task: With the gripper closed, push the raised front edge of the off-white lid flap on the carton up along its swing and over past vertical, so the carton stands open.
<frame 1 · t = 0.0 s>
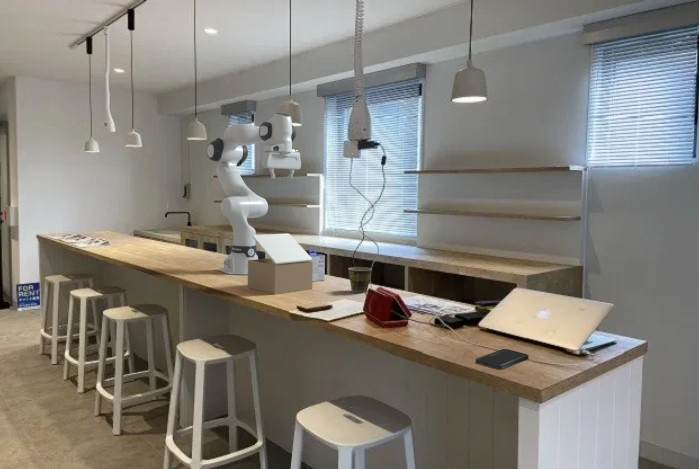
hand: (281, 178, 251), 48 cm above the table, fingers open, 8 cm apart
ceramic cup: (357, 292, 233), on the table
ink cartridge box: (313, 280, 260), on the table
phone: (502, 361, 144), on the table
lid flap: (282, 248, 235), point 18 cm above the table, hinge at 30.0°
carton: (279, 288, 237), on the table
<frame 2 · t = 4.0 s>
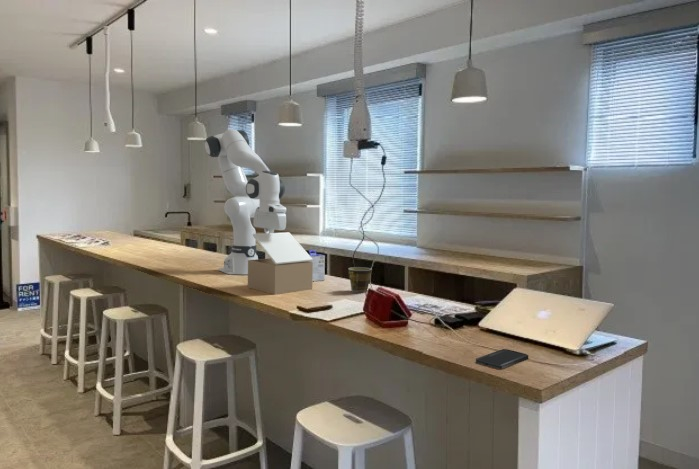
hand: (269, 238, 241), 21 cm above the table, fingers closed
lid flap: (282, 247, 235), point 18 cm above the table, hinge at 31.8°, touching gripper
everything else where it was.
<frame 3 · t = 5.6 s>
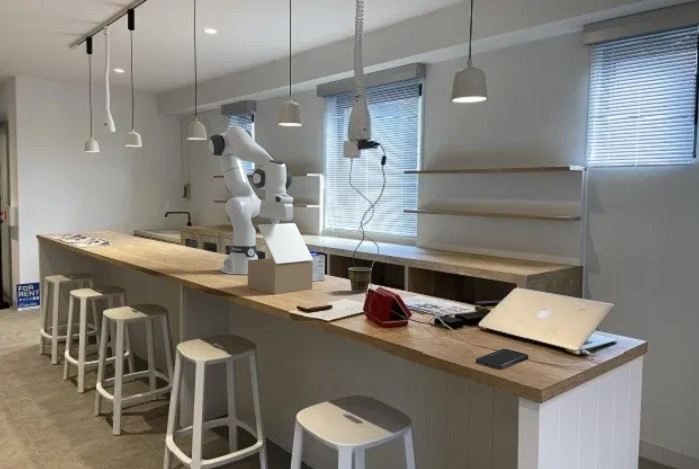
hand: (275, 229, 238), 26 cm above the table, fingers closed, pressing on lid flap
lid flap: (285, 242, 233), point 20 cm above the table, hinge at 49.0°, touching gripper
everything else where it was.
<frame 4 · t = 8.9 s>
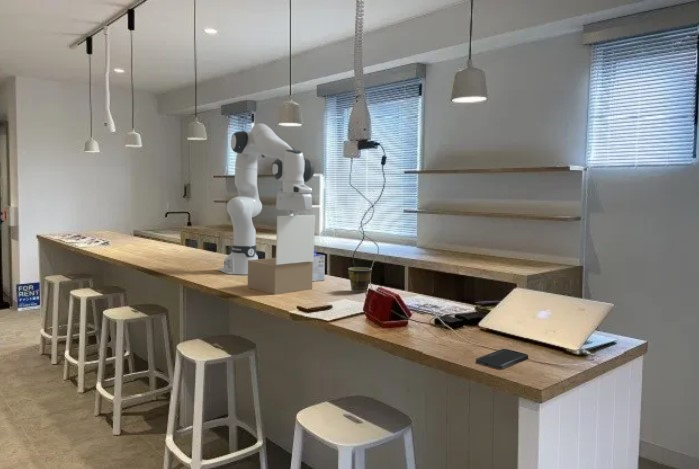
hand: (293, 221, 228), 30 cm above the table, fingers closed
lid flap: (295, 239, 228), point 22 cm above the table, hinge at 92.1°, touching gripper
everything else where it was.
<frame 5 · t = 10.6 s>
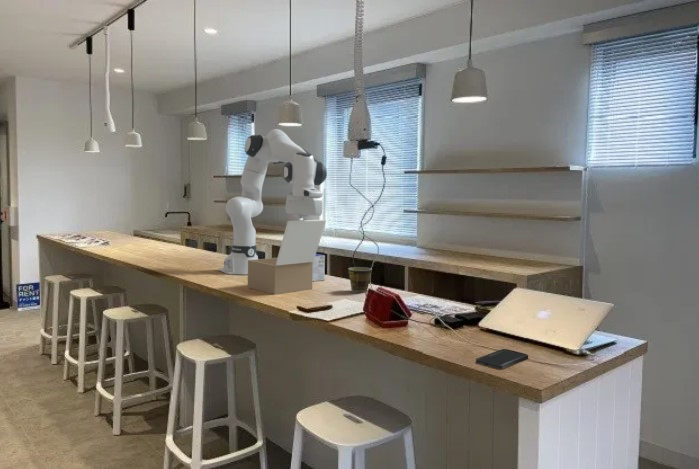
hand: (302, 225, 224), 28 cm above the table, fingers closed
lid flap: (301, 242, 225), point 22 cm above the table, hinge at 112.9°, touching gripper
everything else where it was.
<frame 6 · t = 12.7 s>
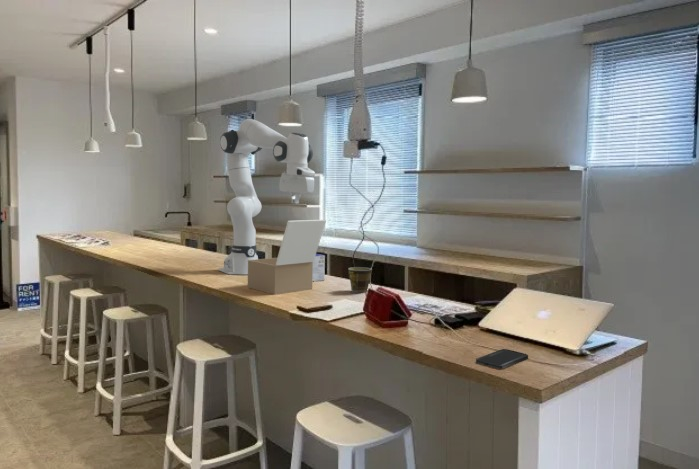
hand: (295, 203, 233), 37 cm above the table, fingers closed
lid flap: (301, 242, 225), point 22 cm above the table, hinge at 113.0°
everything else where it was.
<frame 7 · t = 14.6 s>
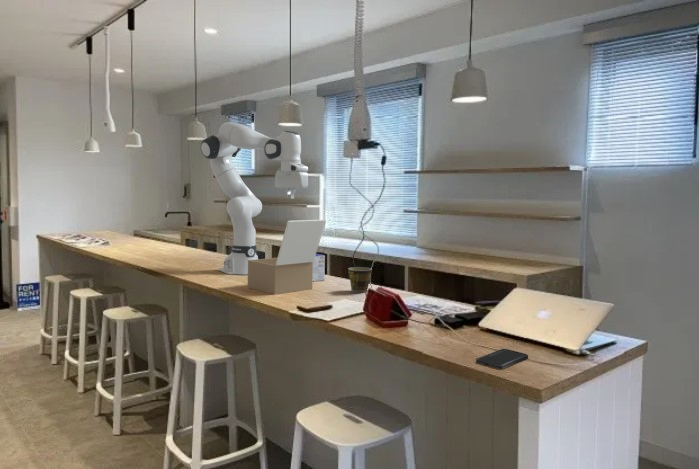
hand: (290, 198, 244), 39 cm above the table, fingers closed
nothing on the table moved.
at the end: lid flap at +113° (first picture: +30°) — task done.
